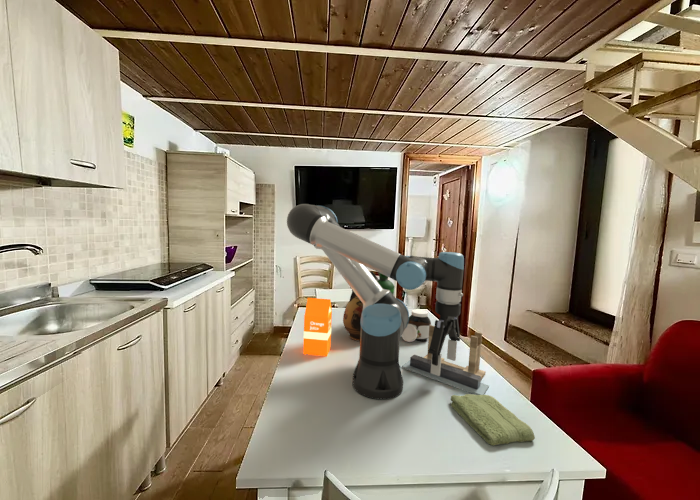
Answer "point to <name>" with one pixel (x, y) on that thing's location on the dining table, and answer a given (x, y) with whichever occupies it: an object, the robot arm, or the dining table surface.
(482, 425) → the washcloth
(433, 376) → the slate mat
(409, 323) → the spread jar
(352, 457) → the dining table surface
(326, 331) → the orange juice
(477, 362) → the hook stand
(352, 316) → the ceramic jug
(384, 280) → the bottle
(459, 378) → the steel bar
